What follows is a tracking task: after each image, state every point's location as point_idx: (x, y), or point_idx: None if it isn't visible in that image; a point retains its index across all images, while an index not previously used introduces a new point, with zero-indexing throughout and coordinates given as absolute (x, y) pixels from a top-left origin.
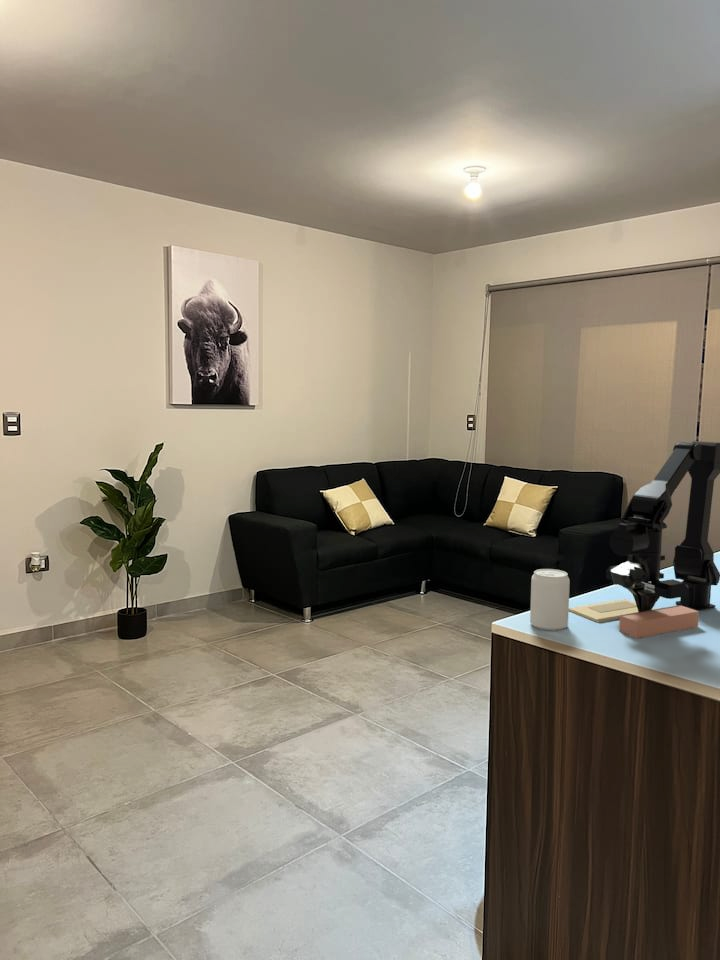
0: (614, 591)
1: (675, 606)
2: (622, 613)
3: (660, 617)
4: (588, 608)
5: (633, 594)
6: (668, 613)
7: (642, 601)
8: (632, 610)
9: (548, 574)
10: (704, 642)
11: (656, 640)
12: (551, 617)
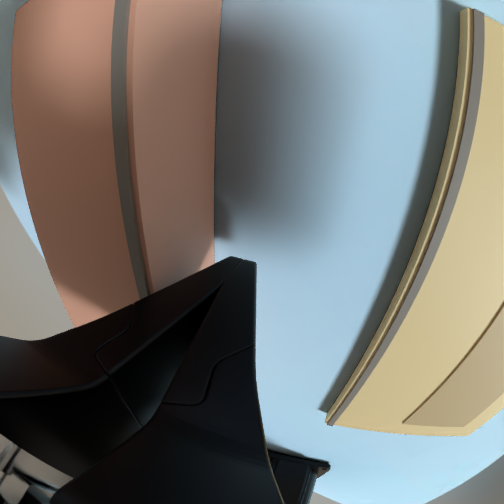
0: (500, 447)
1: None
2: (439, 306)
3: (35, 218)
4: None
5: (243, 448)
6: (89, 319)
7: (120, 340)
8: (409, 377)
9: None
10: (34, 230)
11: None
12: None
